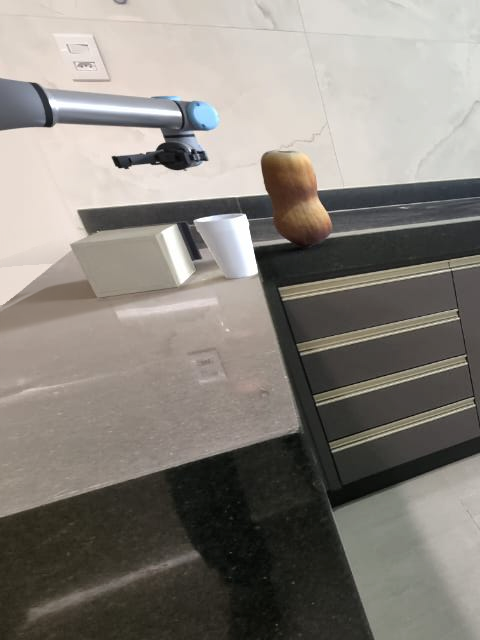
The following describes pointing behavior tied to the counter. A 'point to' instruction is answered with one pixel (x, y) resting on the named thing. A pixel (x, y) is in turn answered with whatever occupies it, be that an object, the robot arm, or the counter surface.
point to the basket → (186, 236)
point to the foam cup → (229, 243)
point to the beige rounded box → (134, 259)
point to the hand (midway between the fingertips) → (151, 160)
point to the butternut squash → (295, 198)
